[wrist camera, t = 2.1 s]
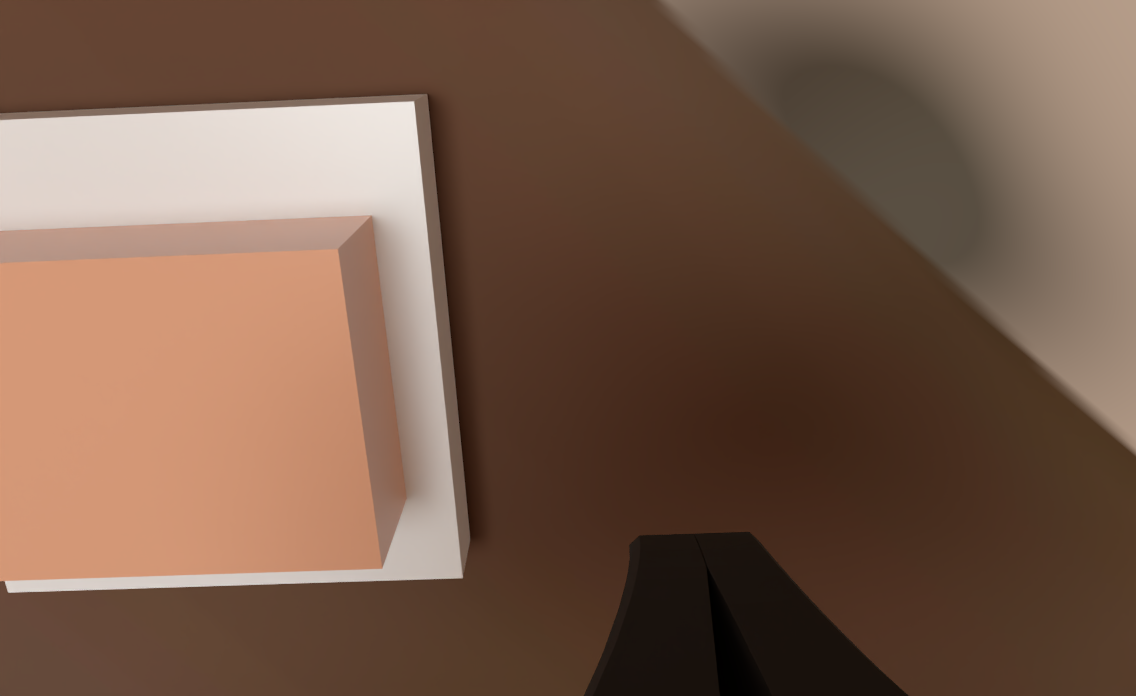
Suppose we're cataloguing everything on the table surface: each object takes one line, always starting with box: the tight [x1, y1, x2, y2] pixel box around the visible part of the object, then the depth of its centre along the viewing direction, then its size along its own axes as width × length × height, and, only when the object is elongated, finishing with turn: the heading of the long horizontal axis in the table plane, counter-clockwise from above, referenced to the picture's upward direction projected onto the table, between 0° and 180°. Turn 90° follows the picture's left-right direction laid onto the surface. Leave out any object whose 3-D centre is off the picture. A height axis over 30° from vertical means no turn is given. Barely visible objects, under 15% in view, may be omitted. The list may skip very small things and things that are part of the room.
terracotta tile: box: [0, 215, 407, 581], centre depth 17 cm, size 6×8×2 cm
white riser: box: [0, 94, 470, 593], centre depth 18 cm, size 10×10×2 cm
